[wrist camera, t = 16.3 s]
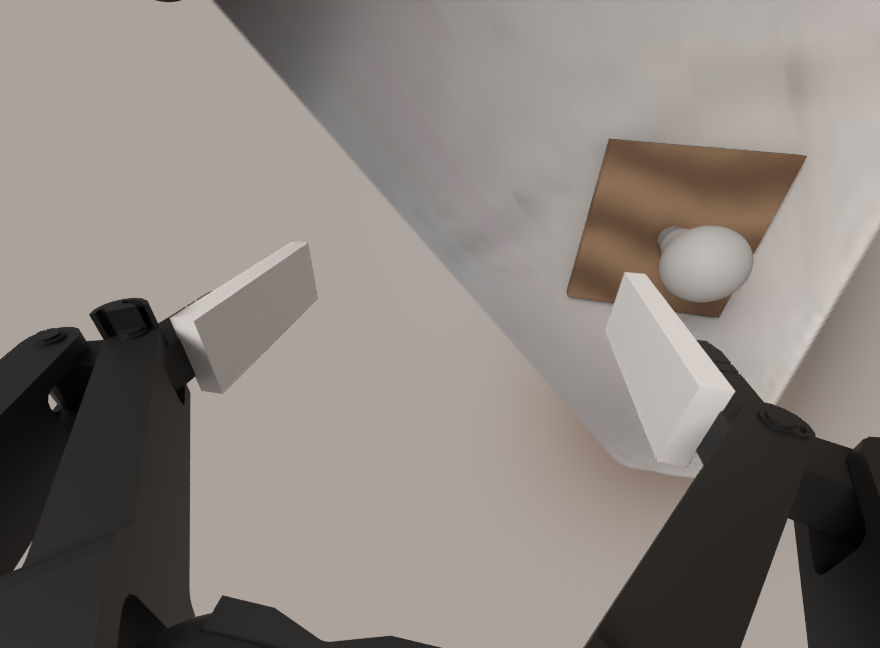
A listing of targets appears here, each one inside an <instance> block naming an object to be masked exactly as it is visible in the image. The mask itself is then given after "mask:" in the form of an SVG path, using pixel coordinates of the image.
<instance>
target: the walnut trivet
mask: <svg viewBox="0 0 880 648" xmlns="http://www.w3.org/2000/svg"><path fill="white" fill-rule="evenodd" d="M806 157H807V156H803V155H795V154H783V153H771V152H760V151H748V150H736V149H724V148H712V147H700V146H689V145H677V144H665V143H653V142H641V141H629V140H617V139H609V141H608V144H607V148H606V152H605V155H604V159H603V162H602V166H601V170H600V173H599V177H598V180H597V184H596V187H595V191H594V195H593V198H592V202H591V205H590V209H589V213H588V216H587V220H586V223H585V227H584V231H583V234H582V238H581V241H580V245H579V249H578V252H577V256H576V259H575V263H574V266H573V270H572V274H571V277H570V281H569V284H568V288H567V296H569V297H576V298H583V299H590V300H597V301H604V302H611V303H614V302H615V299H616V296H617V293H618V290H619V287H620V284H621V281H622V278H623V275H624V272H629V273H640V274H646V275H647V277H648V278H649V279H650V281H651V282H652V283H653V284H654V286H655V287H656V288H657V290H658V291H659V292H660V294H661V295H662V296H663V298H664V299H665V300H666V301H667V303H668V304H669V305H670V307H671V308H672V309H673V311H674V312H681V313H688V314H695V315H702V316H709V317H716V318H719V316H720V315H721V313H722V311H723V309H724V307H725V305H726V304H727V302H728V300H729V298H730V296H731V295H732V294H730V295H729V296H727V297H724V298H722V299H719V300H715V301H710V302H692V301H688V300H684V299H682V298H680V297H678V296H676V295H674V294H673V293H671V292H670V291H669V290H668V289H667V288H666V287H665V285H664V284H663V282H662V280H661V278H660V273H659V261H660V258H661V255H662V253H661V249H660V248H659V246H658V244H657V239H658V236H659V234H660V233H661V232H662V231H663V230H664V229H666V228H668V227H671V226H679V227H682V228H684V229H692V228H696V227H699V226H708V225H709V226H722V227H726V228H729V229H731V230H733V231H735V232H737V233H739V234H740V235H741V236H742V237H744V238H745V240H746V241H747V242H748V244H749V246H750V247H751V250H752V254H754V252H755V251H756V249H757V247H758V245H759V243H760V241H761V240H762V238H763V236H764V234H765V232H766V230H767V229H768V227H769V225H770V223H771V221H772V220H773V218H774V216H775V214H776V212H777V210H778V209H779V207H780V205H781V203H782V201H783V199H784V198H785V196H786V194H787V192H788V190H789V188H790V187H791V185H792V183H793V181H794V179H795V177H796V176H797V174H798V172H799V170H800V168H801V166H802V165H803V163H804V161H805V159H806Z"/></svg>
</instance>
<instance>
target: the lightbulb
mask: <svg viewBox="0 0 880 648" xmlns="http://www.w3.org/2000/svg"><path fill="white" fill-rule="evenodd" d="M657 244H658V246H659V248H660V249H661V253H662V255H661V258H660V261H659V273H660V278H661V280H662V282H663V284H664V285H665V287H666V288H667V289H668V290H669V291H670V292H671V293H673V294H674V295H676V296H678V297H680V298H682V299H684V300H688V301H692V302H710V301H715V300H719V299H722V298H724V297H727V296H729V295H730V294H732V293H734V292H735V291H736V290H738V289H739V288H740V287H741V286H742V285H743V284H744V283H745V281H746V280H747V279H748V277H749V275H750V273H751V271H752V267H753V254H752V250H751V247H750V246H749V244H748V242H747V241H746V240H745V238H744V237H742V236H741V235H740V234H739V233H737V232H735V231H733V230H731V229H729V228H726V227H722V226H709V225H708V226H699V227H696V228H692V229H684V228H682V227H679V226H671V227H668V228H666V229H664V230H663V231H662V232H661V233H660V234H659V236H658V239H657Z"/></svg>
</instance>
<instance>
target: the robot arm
mask: <svg viewBox="0 0 880 648" xmlns="http://www.w3.org/2000/svg"><path fill="white" fill-rule="evenodd" d="M157 1H162V2H175V1H180V0H157ZM317 299H318V297H317V291H316V286H315V280H314V275H313V269H312V263H311V257H310V251H309V246H308V243H304V242H294V241H291V242H290V243H288V244H287V245H285V246H283V247H282V248H280V249H279V250H277V251H276V252H274V253H272V254H271V255H269V256H268V257H266V258H265V259H263V260H261V261H260V262H258V263H256V264H255V265H253V266H252V267H250V268H248V269H247V270H245V271H244V272H242V273H240V274H239V275H237V276H236V277H234V278H233V279H231V280H229V281H228V282H226V283H224V284H223V285H221V286H220V287H218V288H216V289H215V290H213V291H211V292H208V293H207V294H205V295H203V296H202V297H200V298H199V299H197V301H194V302H192V303H191V304H189V305H187V307H184V308H183V309H181V310H179V311H178V312H176V313H175V314H173V315H171V316H170V317H168V318H167V319H165V320H163V321H162V322H160V323H158V322H157V320H156V318H155V316H154V314H153V312H152V310H151V307H150V305H149V303H148V301H147V300H144V299H142V298H129V299H122V300H117V301H113V302H110V303H107V304H104V305H102V306H100V307H98V308H96V309H95V310H93V311H92V312H91V313H90V314H89V315H90V317H91V319H92V320H93V322H94V323H95V325H96V327H97V329H98V331H99V332H100V334H101V336H102V337H103V339H104V340H98V341H86V340H85V338H84V337H83V335H82V333H81V332H80V330H79V329H78V328H74V327H61V328H52V329H47V330H46V331H45V330H44V331H40V332H38V333H37V334H35V335H33V336H31V337H29V338H27V339H25V340H24V341H22V342H21V343H19V344H18V345H17V346H16V347H15V348H13V349H12V350H11V351H10V352H9V353H7V354H6V355H5V356H4V357H3V358H2V359H0V648H440V647H436V646H432V645H427V644H423V643H419V642H415V641H411V640H407V639H402V638H398V637H394V636H384V637H374V638H364V639H354V640H345V641H335V642H325V641H322V640H320V639H318V638H317V637H315V636H314V635H313V634H311V633H309V632H308V631H307V630H305V629H304V628H303V627H301V626H300V625H298V624H297V623H296V622H294V621H293V620H291V619H290V618H288V617H287V616H286V615H284V614H283V613H281V612H280V611H278V610H277V609H275V608H273V607H268V606H264V605H260V604H256V603H252V602H248V601H244V600H239V599H235V598H231V597H227V596H223V595H222V597H221V599H220V600H219V602H218V604H217V605H216V607H215V609H214V611H213V612H212V613H211V614H206V615H202V616H197V617H195V614H194V611H193V608H192V604H191V600H190V591H189V563H190V559H189V558H190V555H189V554H190V553H189V552H190V548H189V547H190V546H189V545H190V542H189V541H190V391H189V389H188V387H187V383H188V382H189V381H190V380H191V379H193V378H194V377H196V379H197V381H198V384H199V386H200V388H201V390H202V391H208V392H214V393H221V394H223V393H224V392H225V391H226V390H227V389H228V388H229V387H230V386H231V385H232V384H233V383H234V382H235V381H236V380H237V379H238V378H239V377H240V376H241V375H242V374H243V373H244V372H245V371H246V370H247V369H248V368H249V367H250V366H251V365H252V364H253V363H254V362H255V361H256V360H257V359H258V358H259V357H260V356H261V355H262V354H263V353H264V352H265V351H266V350H267V349H268V348H269V347H270V346H271V345H272V344H273V343H274V342H275V341H276V340H277V339H278V338H279V337H280V336H281V335H282V334H283V333H284V332H285V331H286V330H287V329H288V328H289V327H290V326H291V325H292V324H293V323H294V322H295V321H296V320H297V319H298V318H299V317H300V316H301V315H302V314H303V313H304V312H305V311H306V310H307V309H308V308H309V307H310V306H311V305H312V304H313V303H314V302H315V301H316V300H317ZM605 333H606V335H607V338H608V340H609V343H610V345H611V348H612V350H613V353H614V355H615V358H616V361H617V363H618V366H619V368H620V371H621V373H622V376H623V378H624V381H625V383H626V386H627V388H628V391H629V393H630V396H631V398H632V401H633V403H634V406H635V408H636V411H637V413H638V416H639V418H640V421H641V423H642V426H643V428H644V431H645V433H646V436H647V438H648V441H649V443H650V446H651V448H652V451H653V453H654V456H655V458H656V461H657V462H659V463H665V464H672V465H678V466H684V467H687V466H688V465H689V463H690V462H691V460H692V459H693V457H694V455H695V454H696V452H697V453H698V455H699V457H700V459H701V461H702V463H703V465H704V466H703V467H702V469H701V470H700V472H699V473H698V475H697V476H696V478H695V479H694V481H693V482H692V484H691V485H690V486H689V488H688V490H687V491H686V493H685V494H684V496H683V497H682V499H681V500H680V502H679V503H678V505H677V506H676V508H675V510H674V511H673V513H672V514H671V516H670V517H669V519H668V520H667V522H666V523H665V525H664V526H663V528H662V529H661V531H660V532H659V534H658V535H657V537H656V539H655V540H654V541H653V543H652V544H651V546H650V547H649V549H648V551H647V552H646V553H645V555H644V557H643V558H642V560H641V561H640V563H639V564H638V566H637V567H636V569H635V570H634V572H633V573H632V575H631V576H630V578H629V579H628V581H627V582H626V584H625V586H624V587H623V589H622V590H621V591H620V593H619V594H618V596H617V597H616V599H615V600H614V602H613V604H612V605H611V607H610V608H609V610H608V611H607V613H606V614H605V616H604V617H603V619H602V620H601V622H600V623H599V625H598V626H597V628H596V629H595V631H594V632H593V634H592V635H591V637H590V638H589V640H588V641H587V643H586V645H585V646H584V647H583V648H740V647H741V645H742V642H743V639H744V637H745V634H746V631H747V628H748V626H749V623H750V620H751V617H752V615H753V612H754V609H755V606H756V604H757V601H758V598H759V595H760V592H761V590H762V587H763V584H764V582H765V579H766V576H767V573H768V571H769V568H770V565H771V562H772V560H773V557H774V554H775V551H776V548H777V546H778V543H779V540H780V538H781V535H782V532H783V529H784V527H785V524H786V521H787V518H789V519H791V520H794V527H795V536H796V544H797V552H798V562H799V570H800V578H801V588H802V596H803V605H804V614H805V622H806V631H807V640H808V648H880V437H868V438H866V439H863V440H862V441H861V442H860V443H859V444H858V445H857V446H856V447H855V448H854V449H851V448H848V447H845V446H841V445H838V444H835V443H832V442H829V441H826V440H823V439H820V438H817V437H815V433H814V431H813V430H812V429H811V427H810V426H809V425H808V424H807V423H806V422H804V421H803V420H802V419H801V418H799V417H798V416H797V415H795V414H793V413H791V412H789V411H787V410H785V409H783V408H781V407H778V406H775V405H773V404H769V403H764V402H763V401H762V400H761V398H760V397H759V396H758V395H757V394H756V392H755V391H754V390H753V389H752V388H751V386H750V385H749V384H748V383H747V382H746V380H745V379H744V378H743V377H742V376H741V374H738V371H737V370H736V368H735V367H734V366H733V365H731V362H730V361H729V360H728V359H727V358H726V356H725V355H724V354H723V353H722V352H721V351H720V350H719V349H717V348H716V347H714V346H713V345H711V344H710V343H708V342H707V341H701V340H696V339H695V338H694V337H693V335H692V334H691V333H690V331H689V330H688V329H687V327H686V326H685V325H684V324H683V322H682V321H681V320H680V318H679V317H678V316H677V314H676V313H675V312H674V311H673V309H672V308H671V307H670V305H669V304H668V303H667V301H666V300H665V299H664V298H663V296H662V295H661V294H660V292H659V291H658V290H657V288H656V287H655V286H654V284H653V283H652V282H651V281H650V279H649V278H648V277H647V275H646V274H640V273H629V272H624V275H623V278H622V281H621V284H620V287H619V290H618V293H617V296H616V299H615V302H614V305H613V308H612V311H611V314H610V317H609V320H608V323H607V326H606V329H605ZM49 394H50V395H51V396H52V398H53V399H54V400H55V401H56V403H57V406H56V407H55V408H54V409H53V410H51V408H50V406H49V403H48V395H49ZM32 540H33V541H32ZM31 542H32V543H31ZM30 543H31V547H30V549H29V552H28V555H27V558H26V560H25V562H24V564H23V566H22V568H20V569H17V570H15V571H13V570H14V569H15V567H16V566H17V564H18V562H19V561H20V559H21V558H22V556H23V554H24V553H25V551H26V550H27V548H28V547H29V545H30Z"/></svg>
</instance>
